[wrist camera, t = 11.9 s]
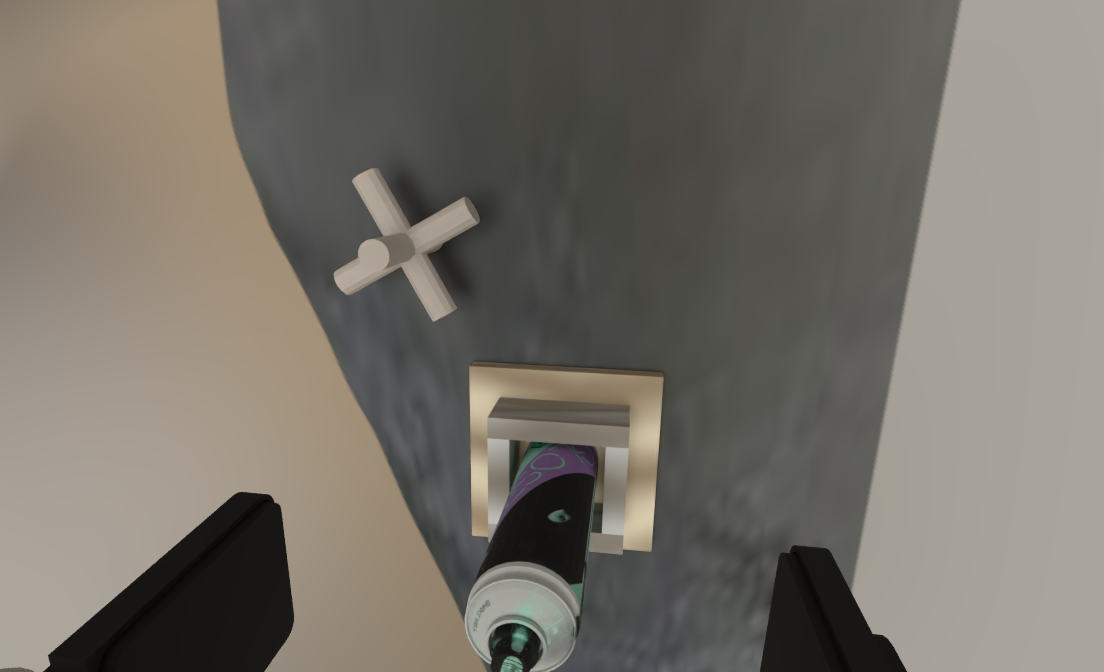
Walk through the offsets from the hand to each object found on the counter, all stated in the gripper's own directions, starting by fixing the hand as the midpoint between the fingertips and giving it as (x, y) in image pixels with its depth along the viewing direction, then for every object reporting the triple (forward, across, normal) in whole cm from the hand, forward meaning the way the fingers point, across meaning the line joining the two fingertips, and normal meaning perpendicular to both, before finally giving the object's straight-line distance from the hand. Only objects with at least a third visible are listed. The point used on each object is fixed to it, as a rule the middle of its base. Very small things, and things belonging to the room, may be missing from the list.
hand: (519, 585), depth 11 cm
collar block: (+32, +2, +14) cm, 35 cm away
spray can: (+31, +2, +14) cm, 34 cm away
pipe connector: (+33, +12, -2) cm, 35 cm away
